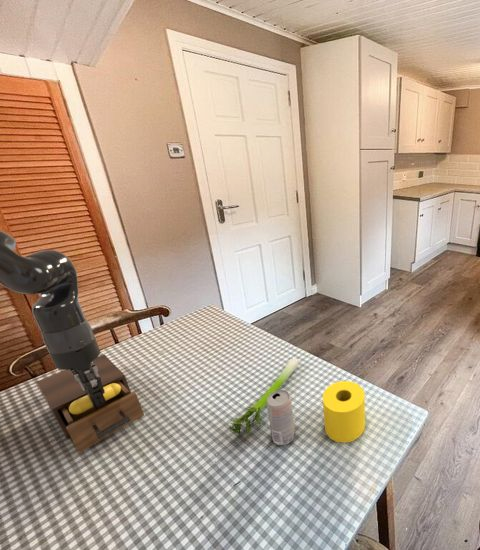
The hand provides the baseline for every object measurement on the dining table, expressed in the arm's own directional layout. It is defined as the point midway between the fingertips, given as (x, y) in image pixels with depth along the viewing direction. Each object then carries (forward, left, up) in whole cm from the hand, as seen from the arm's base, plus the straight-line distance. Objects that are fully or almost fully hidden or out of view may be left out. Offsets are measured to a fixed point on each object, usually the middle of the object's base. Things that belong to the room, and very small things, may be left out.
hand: (98, 402), depth 72 cm
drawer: (-1, 0, -7) cm, 7 cm away
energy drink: (+43, +9, -8) cm, 45 cm away
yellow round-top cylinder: (0, 0, 0) cm, 0 cm away
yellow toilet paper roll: (+56, +16, -8) cm, 59 cm away
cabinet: (-12, +4, -8) cm, 15 cm away
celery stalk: (+33, +19, -8) cm, 39 cm away
